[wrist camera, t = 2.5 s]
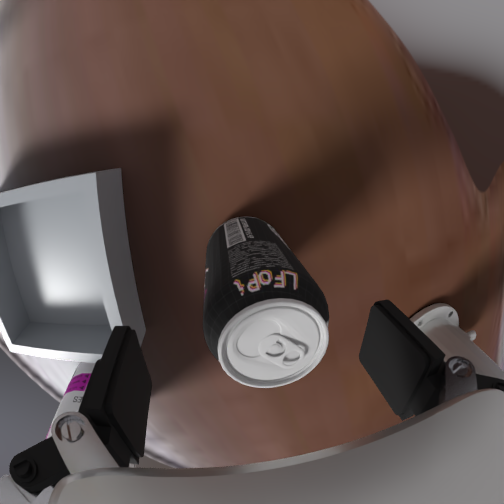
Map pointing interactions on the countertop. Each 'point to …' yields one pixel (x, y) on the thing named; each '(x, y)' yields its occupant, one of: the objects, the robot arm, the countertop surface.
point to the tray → (66, 267)
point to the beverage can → (261, 306)
